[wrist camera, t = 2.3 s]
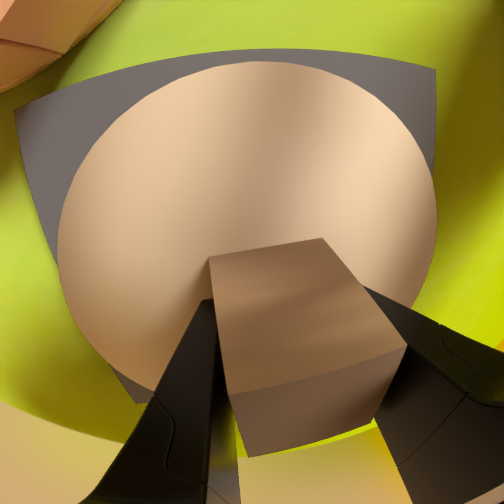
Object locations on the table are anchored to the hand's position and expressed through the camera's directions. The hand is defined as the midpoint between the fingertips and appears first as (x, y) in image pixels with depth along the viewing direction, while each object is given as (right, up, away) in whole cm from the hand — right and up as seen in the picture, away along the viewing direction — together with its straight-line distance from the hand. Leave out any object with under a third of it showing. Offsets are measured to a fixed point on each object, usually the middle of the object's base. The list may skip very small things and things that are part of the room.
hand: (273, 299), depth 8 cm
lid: (0, +1, +1) cm, 2 cm away
